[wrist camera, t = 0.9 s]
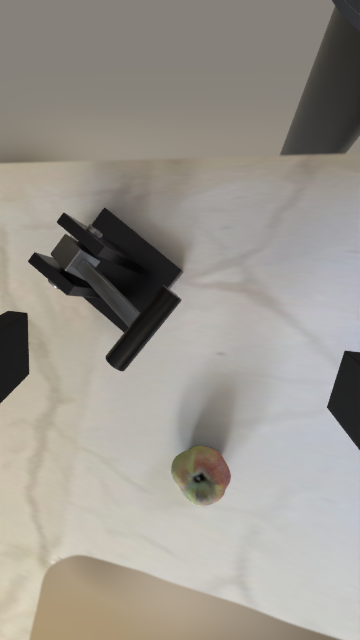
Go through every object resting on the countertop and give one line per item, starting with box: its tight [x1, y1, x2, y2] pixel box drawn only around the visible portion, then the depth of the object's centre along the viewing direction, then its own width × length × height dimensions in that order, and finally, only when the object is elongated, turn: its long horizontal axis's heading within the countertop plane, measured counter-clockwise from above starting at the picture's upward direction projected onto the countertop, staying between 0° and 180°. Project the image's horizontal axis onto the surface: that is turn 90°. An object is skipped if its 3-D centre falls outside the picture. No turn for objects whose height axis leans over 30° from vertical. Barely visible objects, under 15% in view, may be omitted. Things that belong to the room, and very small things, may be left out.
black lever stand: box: [28, 208, 183, 333], centre depth 32 cm, size 12×10×14 cm
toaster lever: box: [51, 234, 181, 371], centre depth 25 cm, size 12×6×2 cm, turn 53°
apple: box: [171, 446, 231, 506], centre depth 35 cm, size 6×8×6 cm
